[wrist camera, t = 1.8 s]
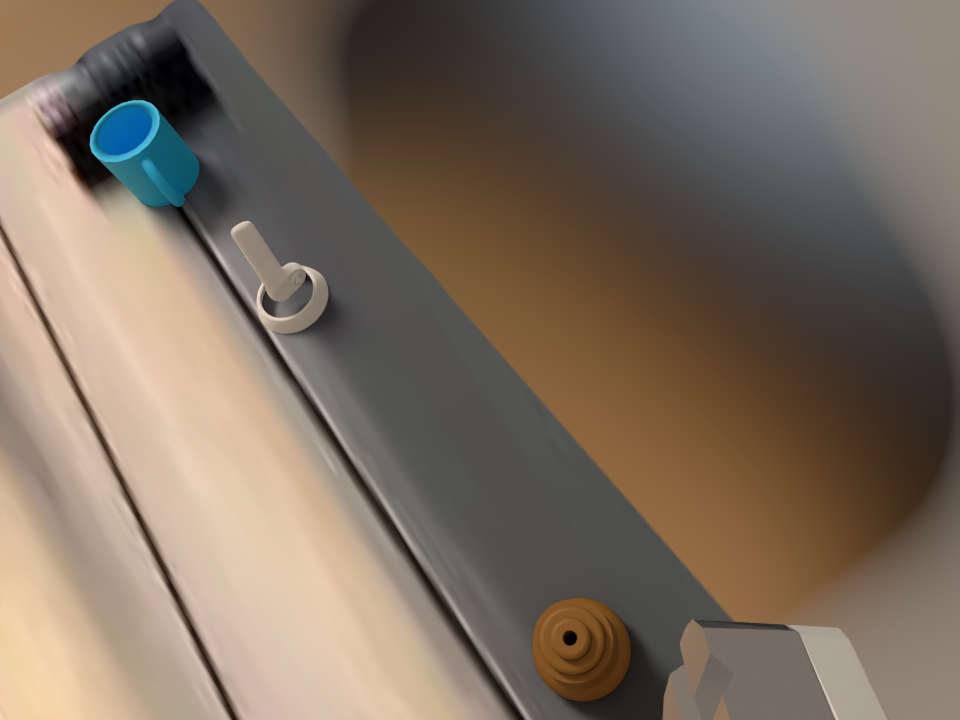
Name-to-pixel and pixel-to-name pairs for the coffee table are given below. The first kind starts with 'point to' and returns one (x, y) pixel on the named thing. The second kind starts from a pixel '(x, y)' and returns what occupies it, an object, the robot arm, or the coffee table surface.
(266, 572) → the coffee table surface
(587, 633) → the ornamental finial
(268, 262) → the vr controller
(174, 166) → the mug
